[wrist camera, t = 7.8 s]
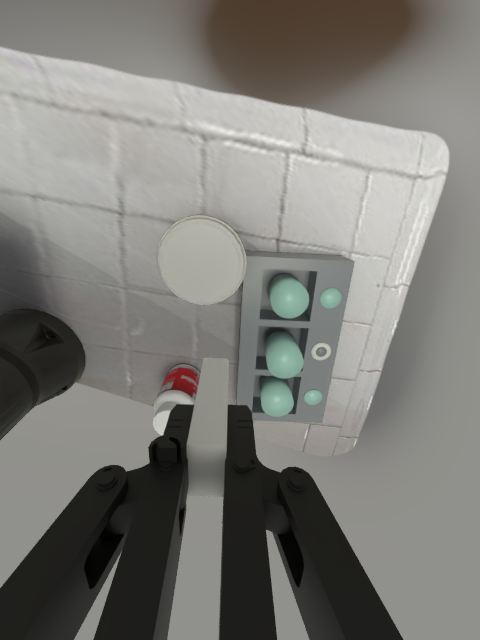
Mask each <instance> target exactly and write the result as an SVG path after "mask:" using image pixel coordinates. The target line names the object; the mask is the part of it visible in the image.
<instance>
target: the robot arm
mask: <svg viewBox="0 0 480 640" xmlns="http://www.w3.org/2000/svg"><path fill="white" fill-rule="evenodd" d="M84 366H85V356H84V351H83V348H82V345H81V343H80V341H79V340H78V338H77V337H76V335H75V334H74V333H73V332H72V330H71V329H70V328H69V327H68V326H66V325H65V324H64V323H63V322H61V321H60V320H58V319H57V318H55V317H53V316H51V315H49V314H46V313H44V312H40V311H36V310H29V309H20V310H14V311H11V312H8V313H6V314H3V315H1V316H0V440H1V439H2V438H3V437H4V436H5V435H6V434H7V433H8V432H9V431H10V430H11V429H12V428H13V427H14V426H15V425H16V424H17V423H18V422H19V421H20V420H21V419H22V418H23V417H24V416H25V415H26V414H27V413H28V412H29V411H30V410H31V409H32V408H34V407H35V406H37V405H39V404H41V403H43V402H45V401H47V400H49V399H52V398H54V397H56V396H58V395H60V394H62V393H64V392H65V391H67V390H68V389H69V388H70V387H71V386H72V385H73V384H74V383H75V382H76V381H77V380H78V379H79V378H80V376H81V375H82V372H83V370H84ZM228 368H229V359H227V358H203V363H202V368H201V373H200V379H199V384H198V389H197V394H196V399H195V404H194V405H191V404H176V406H175V407H174V408H173V409H172V410H171V411H170V414H169V417H168V421H167V424H166V427H165V430H164V434H163V435H162V436H160V437H158V438H156V439H155V440H154V441H152V442H151V444H150V446H149V447H148V448H149V459H150V463H149V464H147V465H145V466H144V467H141V468H138V469H135V470H131V471H127V472H126V471H125V469H124V468H123V467H121V466H119V465H110V466H106V467H103V468H101V469H99V470H98V471H96V472H95V473H94V474H93V475H92V476H91V477H90V478H89V479H88V481H87V482H86V483H85V485H84V486H83V487H82V488H81V489H80V491H79V492H78V493H77V494H76V496H75V497H74V498H73V499H72V500H71V502H70V503H69V504H68V505H67V507H66V508H65V509H64V510H63V512H62V513H61V514H60V515H59V517H58V518H57V519H56V520H55V522H54V523H53V524H52V525H51V526H50V528H49V529H48V530H47V531H46V533H45V534H44V535H43V536H42V538H41V539H40V540H39V541H38V543H37V544H36V545H35V546H34V547H33V549H32V550H31V551H30V552H29V554H28V555H27V556H26V557H25V558H24V560H23V561H22V562H21V563H20V565H19V566H18V567H17V568H16V570H15V571H14V572H13V573H12V575H11V576H10V577H9V578H8V580H7V581H6V582H5V583H4V584H3V586H2V587H1V588H0V640H74V638H75V636H76V635H77V633H78V631H79V629H80V627H81V625H82V623H83V621H84V620H85V618H86V616H87V614H88V612H89V610H90V608H91V606H92V605H93V603H94V601H95V599H96V597H97V596H98V593H99V592H100V590H101V588H102V586H103V584H104V582H105V581H106V579H107V577H108V575H109V573H110V571H111V569H112V568H113V566H114V564H115V562H116V560H117V558H118V556H119V555H120V553H121V551H122V553H121V556H120V559H119V562H118V565H117V568H116V571H115V575H114V578H113V581H112V584H111V587H110V590H109V593H108V596H107V599H106V602H105V606H104V609H103V612H102V615H101V618H100V622H99V625H98V627H97V631H96V634H95V637H94V640H167V636H168V629H169V622H170V616H171V609H172V603H173V602H172V601H173V596H174V589H175V583H176V576H177V569H178V562H179V555H180V549H181V541H182V535H183V529H184V522H185V515H186V498H187V492H188V496H224V499H223V527H222V528H223V529H222V557H221V589H220V619H219V640H277V635H276V625H275V614H274V605H273V595H272V585H271V577H270V566H269V556H268V547H267V537H266V530H269V531H271V532H273V535H274V538H275V541H276V544H277V547H278V550H279V552H280V555H281V558H282V561H283V564H284V567H285V570H286V573H287V576H288V578H289V582H290V584H291V587H292V590H293V593H294V596H295V599H296V602H297V605H298V607H299V610H300V613H301V616H302V619H303V622H304V625H305V628H306V631H307V634H308V636H309V639H310V640H403V638H402V637H401V635H400V633H399V631H398V630H397V628H396V626H395V624H394V622H393V620H392V619H391V617H390V615H389V613H388V612H387V610H386V608H385V606H384V605H383V603H382V601H381V599H380V597H379V596H378V594H377V592H376V590H375V588H374V587H373V585H372V583H371V581H370V580H369V578H368V576H367V574H366V573H365V571H364V569H363V567H362V565H361V564H360V562H359V560H358V558H357V556H356V555H355V553H354V551H353V549H352V548H351V546H350V544H349V542H348V540H347V539H346V537H345V535H344V533H343V532H342V530H341V528H340V526H339V524H338V523H337V521H336V519H335V517H334V516H333V514H332V512H331V510H330V508H329V507H328V505H327V503H326V501H325V500H324V498H323V496H322V494H321V492H320V491H319V489H318V487H317V485H316V483H315V482H314V480H313V478H312V477H311V476H310V475H309V473H307V472H306V471H304V470H303V469H301V468H298V467H288V468H286V469H283V471H282V472H281V473H280V472H277V471H274V470H271V469H269V468H267V467H265V466H263V465H262V464H261V462H260V461H259V460H258V458H257V456H256V449H255V440H254V429H253V419H252V412H251V410H250V409H249V407H248V406H247V405H228Z"/></svg>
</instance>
